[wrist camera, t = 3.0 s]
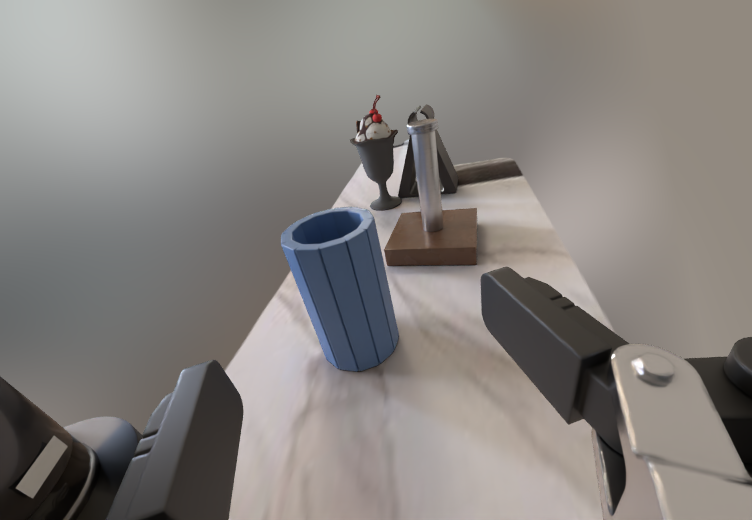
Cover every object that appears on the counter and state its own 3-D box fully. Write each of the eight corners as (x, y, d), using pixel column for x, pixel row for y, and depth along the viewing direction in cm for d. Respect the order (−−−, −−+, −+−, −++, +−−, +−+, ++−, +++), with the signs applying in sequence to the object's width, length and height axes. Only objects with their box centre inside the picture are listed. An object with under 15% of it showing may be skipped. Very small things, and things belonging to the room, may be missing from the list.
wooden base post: (387, 266, 33) (361, 140, 26) (403, 227, 40) (386, 121, 34) (476, 265, 30) (472, 123, 23) (477, 223, 37) (474, 106, 31)
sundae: (407, 208, 45) (390, 93, 37) (362, 215, 46) (337, 104, 38) (407, 193, 50) (392, 89, 43) (367, 199, 52) (346, 99, 44)
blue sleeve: (312, 367, 23) (261, 251, 18) (340, 313, 28) (306, 209, 22) (387, 375, 21) (355, 248, 16) (404, 316, 26) (383, 203, 21)
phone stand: (458, 179, 51) (454, 99, 45) (456, 193, 46) (451, 105, 40) (405, 184, 54) (394, 110, 48) (398, 198, 49) (385, 116, 43)
